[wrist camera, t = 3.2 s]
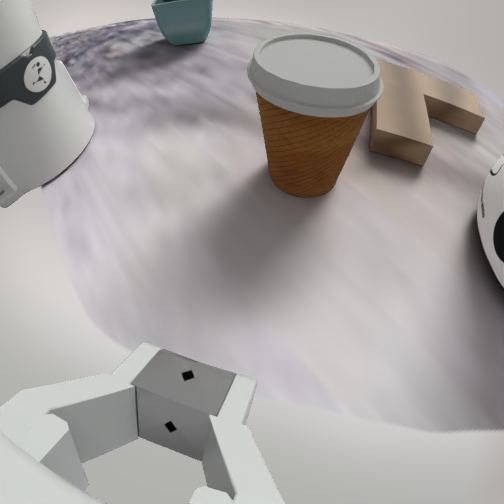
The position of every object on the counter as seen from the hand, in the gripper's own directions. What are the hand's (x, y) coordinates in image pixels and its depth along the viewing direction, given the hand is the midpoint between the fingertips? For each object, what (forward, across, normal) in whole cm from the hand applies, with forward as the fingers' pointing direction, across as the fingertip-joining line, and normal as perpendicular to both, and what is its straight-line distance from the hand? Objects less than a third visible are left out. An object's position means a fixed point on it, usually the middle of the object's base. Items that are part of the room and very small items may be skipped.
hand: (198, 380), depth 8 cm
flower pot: (+43, +23, -23) cm, 54 cm away
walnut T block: (+33, -9, -14) cm, 37 cm away
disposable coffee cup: (+24, 0, -4) cm, 25 cm away
